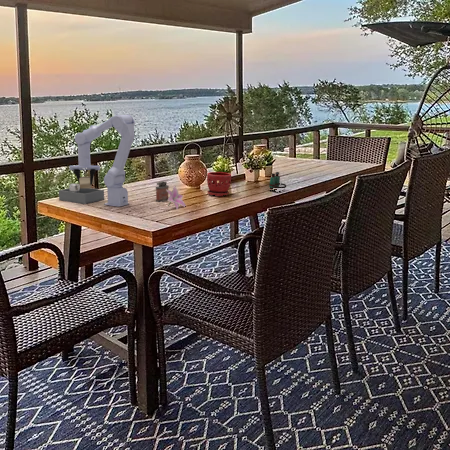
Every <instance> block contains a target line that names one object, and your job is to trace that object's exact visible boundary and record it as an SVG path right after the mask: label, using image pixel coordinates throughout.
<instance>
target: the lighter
mask: <svg viewBox="0 0 450 450" xmlns="http://www.w3.org/2000/svg"><path fill="white" fill-rule="evenodd" d="M156 185H157V186H155V196H156V197H155V202H157V203H161V202H163V203H164V202H167V201H168V198H169V193H168V192H167V190H169V186H170V185H168V181H165V180H163V181H162V180H161V181H157V182H156ZM166 189H167V190H166Z"/></svg>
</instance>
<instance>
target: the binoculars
mask: <svg viewBox="0 0 450 450" xmlns="http://www.w3.org/2000/svg"><path fill="white" fill-rule="evenodd" d="M280 181H281V176H280V172H278V171H275V173H271V177H270V180H269V185H268V186H269V189H273V188H284V189H285V188H287V184H286V183H282V181H281V182H280ZM274 190H277V189H274Z"/></svg>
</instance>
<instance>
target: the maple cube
mask: <svg viewBox="0 0 450 450" xmlns="http://www.w3.org/2000/svg"><path fill="white" fill-rule="evenodd" d="M79 182H80V188H92V185H90V176H80V178H79Z"/></svg>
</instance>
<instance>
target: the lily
mask: <svg viewBox="0 0 450 450" xmlns="http://www.w3.org/2000/svg"><path fill="white" fill-rule="evenodd" d="M166 190H167V189H166ZM167 192H168V200H167V201H168V202H169V203H168V205H167V207H170V204H171V203H173V204H174V206H175V209H176V210H178V209H179V205H180V206H182V207H184V208H186V207H187V205H186V203H185V202H184V200H183V197H184V195H183V194H179V190H178V189H177V187H176V185H173V187H172V190H169V189H168V190H167ZM185 206H186V207H185Z"/></svg>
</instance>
